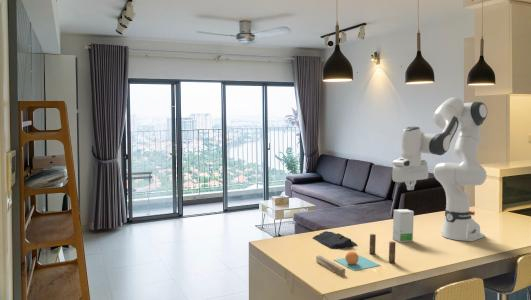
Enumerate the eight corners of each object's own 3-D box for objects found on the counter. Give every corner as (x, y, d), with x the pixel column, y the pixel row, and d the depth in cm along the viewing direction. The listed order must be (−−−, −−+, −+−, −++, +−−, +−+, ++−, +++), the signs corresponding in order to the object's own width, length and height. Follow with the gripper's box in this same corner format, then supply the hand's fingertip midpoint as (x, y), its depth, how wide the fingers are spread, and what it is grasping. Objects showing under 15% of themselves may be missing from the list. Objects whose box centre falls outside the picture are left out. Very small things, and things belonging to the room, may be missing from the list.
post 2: (391, 261, 184) (392, 241, 183) (396, 263, 181) (396, 242, 181) (387, 262, 183) (388, 241, 182) (391, 263, 180) (392, 243, 179)
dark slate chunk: (334, 235, 224) (334, 226, 224) (359, 247, 204) (359, 238, 204) (309, 238, 218) (310, 230, 218) (333, 251, 198) (333, 241, 198)
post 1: (372, 252, 195) (373, 233, 194) (376, 254, 193) (376, 235, 192) (368, 253, 194) (368, 234, 193) (371, 255, 192) (372, 235, 191)
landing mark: (359, 255, 191) (359, 255, 191) (380, 265, 178) (380, 265, 178) (334, 260, 185) (334, 259, 185) (354, 270, 172) (354, 270, 172)
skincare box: (399, 242, 210) (399, 212, 209) (391, 239, 216) (392, 209, 215) (413, 241, 212) (414, 211, 211) (405, 237, 219) (406, 208, 217)
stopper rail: (320, 260, 184) (320, 255, 184) (345, 275, 168) (345, 269, 168) (316, 261, 183) (316, 256, 183) (341, 275, 167) (341, 269, 167)
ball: (346, 265, 182) (355, 256, 184) (354, 269, 177) (363, 260, 179) (340, 255, 180) (349, 247, 182) (348, 259, 175) (358, 250, 177)
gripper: (421, 159, 206) (421, 186, 207) (390, 161, 197) (389, 190, 198) (432, 160, 200) (431, 188, 202) (399, 163, 191) (399, 192, 193)
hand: (410, 189), depth 200 cm, fingers closed
